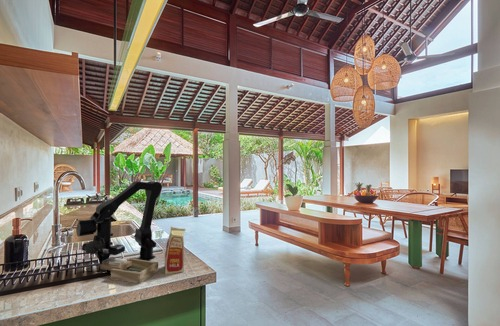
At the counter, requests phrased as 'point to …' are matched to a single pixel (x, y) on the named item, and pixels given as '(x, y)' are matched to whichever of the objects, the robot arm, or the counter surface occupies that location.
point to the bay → (133, 276)
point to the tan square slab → (115, 264)
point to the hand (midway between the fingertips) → (102, 266)
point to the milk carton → (175, 251)
